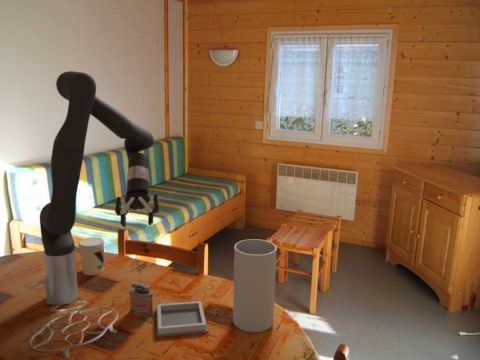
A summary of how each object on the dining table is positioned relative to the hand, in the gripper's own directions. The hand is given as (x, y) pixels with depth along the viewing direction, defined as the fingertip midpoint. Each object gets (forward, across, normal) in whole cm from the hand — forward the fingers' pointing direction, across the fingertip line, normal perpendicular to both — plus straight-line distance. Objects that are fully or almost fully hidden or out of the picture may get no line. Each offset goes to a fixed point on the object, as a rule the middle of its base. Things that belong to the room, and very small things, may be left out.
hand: (136, 225), depth 145 cm
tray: (+31, +13, +4) cm, 34 cm away
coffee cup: (+6, -22, +30) cm, 38 cm away
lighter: (+27, +1, +8) cm, 28 cm away
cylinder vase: (+33, +36, +4) cm, 49 cm away
